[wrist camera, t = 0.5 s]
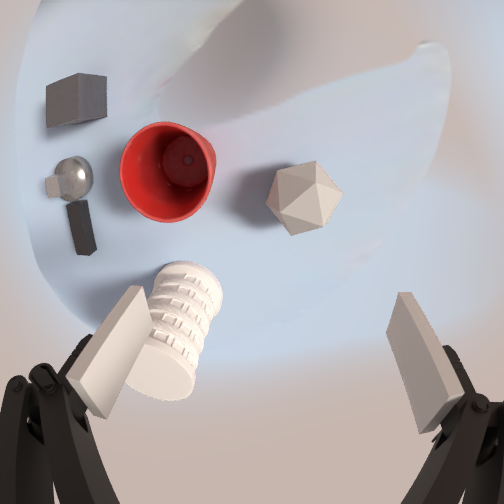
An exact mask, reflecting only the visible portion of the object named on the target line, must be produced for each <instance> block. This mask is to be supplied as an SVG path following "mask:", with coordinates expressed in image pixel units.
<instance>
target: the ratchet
mask: <svg viewBox="0 0 504 504" xmlns="http://www.w3.org/2000/svg"><path fill="white" fill-rule="evenodd" d="M45 183H46V189H47V195H48V198H50V197H59V196H61V197H62V198H63V199H64V200H66V201H69V202H71V203H69V204H67V205H66V207H67V213H68V218H69V222H70V227H71V232H72V236H73V240H74V244H75V248H76V252H77V255H87V256H90V255H91V254H92V253H93V252H95V251H96V250H97V247H96V243H95V238H94V234H93V229H92V224H91V219H90V213H89V208H88V202H87V200H78V199H80V198H82V197H84V196H85V195H87V194H88V193H89V191H90V190H91V188H92V184H93V172H92V169H91V166H90V165H89V163H88V162H87V161H86V160H85V159H84V158H82V157H80V156H74V157H71V158H67V159H64V160H62V161H61V162H60V163H59V164H58V165H57V167H56V169H55V173H54V175H53V176H50V177H47V178H45Z"/></svg>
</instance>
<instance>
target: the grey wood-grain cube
mask: <svg viewBox="0 0 504 504" xmlns="http://www.w3.org/2000/svg"><path fill="white" fill-rule="evenodd" d="M103 117H107V77H105V76H98V75H91V74H83V73H77V74H74V75H72V76H69V77H66V78H64V79H61V80H59V81H57V82H54V83H52V84H50V85H47V86H46V123H47V128H52V127H58V126H65V125H72V124H77V123H81V122H85V121H89V120H94V119H98V118H103Z"/></svg>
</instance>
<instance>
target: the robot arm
mask: <svg viewBox="0 0 504 504" xmlns="http://www.w3.org/2000/svg"><path fill="white" fill-rule="evenodd" d="M153 327H154V325H153V322H152V318H151V315H150V311H149V308H148V304H147V300H146V297H145V293H144V289H143V286H134V285H130V287H129V288H128V289H127V290H126V292H125V293H124V294H123V296H122V297H121V298H120V300H119V301H118V302H117V304H116V305H115V306H114V308H113V309H112V310H111V312H110V313H109V314H108V316H107V317H106V318H105V320H104V321H103V322H102V324H101V325H100V327H99V328H98V329H97V331H96V332H95V334H94V335H91V334H88V335H87V336H86V337H84V338H83V339H82V340H81V341H80V342H79V344H78V345H77V346H76V349H74V351H73V352H72V353H71V354H72V355H70V356H69V358H68V359H67V361H66V362H65V364H64V365H63V367H62V368H61V370H60V371H59V372H58V374H56V372H55V370H54V369H53V367H52V366H51V365H50V364H47V363H41V364H38V365H37V366H35V367H34V368H33V369H32V370H31V371H30V373H29V380H30V381H31V382H32V383H28V381H27V380H26V378H25V377H23V376H21V375H18V376H14V377H13V378H11V379H10V380H9V382H8V384H7V386H6V390H5V394H4V398H3V402H2V407H1V412H0V504H55V503H54V492H53V482H54V486H55V489H56V493H57V496H58V499H59V502H60V504H120V503H119V501H118V499H117V497H116V494H115V492H114V490H113V488H112V485H111V483H110V481H109V478H108V476H107V473H106V471H105V468H104V466H103V463H102V460H101V458H100V455H99V452H98V450H97V446H96V443H95V441H94V437H93V434H92V431H91V427H90V424H89V421H88V417H87V415H86V414H85V412H86V410H87V408H88V409H89V410H90V411H91V413H92V414H93V415H95V416H97V417H100V418H103V419H107V418H108V416H109V414H110V412H111V410H112V407H113V405H114V403H115V401H116V399H117V397H118V395H119V393H120V391H121V389H122V387H123V385H124V383H125V381H126V379H127V377H128V375H129V373H130V371H131V369H132V367H133V365H134V363H135V361H136V359H137V357H138V355H139V353H140V351H141V349H142V347H143V346H144V344H145V342H146V340H147V338H148V336H149V334H150V332H151V330H152V329H153ZM386 334H387V337H388V340H389V342H390V345H391V348H392V351H393V353H394V356H395V359H396V361H397V364H398V367H399V370H400V373H401V376H402V379H403V382H404V385H405V388H406V391H407V394H408V397H409V400H410V403H411V407H412V410H413V414H414V417H415V421H416V424H417V428H418V431H419V434H422V433H427V432H430V431H434V430H435V429H436V428H437V426H438V425H439V424H441V427H442V430H441V431H440V432H439V433H438V434H437V435H436V436H435V437H434V439H433V440H432V442H434V441H435V440H436V441H435V443H434V446H433V448H432V450H431V452H430V454H429V456H428V458H427V460H426V462H425V463H424V465H423V467H422V469H421V471H420V473H419V474H418V476H417V478H416V480H415V481H414V483H413V485H412V486H411V488H410V490H409V491H408V493H407V494H406V496H405V498H404V499H403V501H402V502H401V504H458V503H459V501H460V499H461V497H462V495H463V492H464V490H465V493H464V497H463V502H462V504H504V401H503V402H490V401H489V400H488V398H487V397H486V396H484V395H482V394H479V393H476V392H475V389H474V387H473V385H472V383H471V381H470V379H469V377H468V375H467V373H466V371H465V369H464V368H463V365H462V363H461V362H460V359H459V357H458V355H457V354H456V352H455V351H454V350H453V349H452V348H451V347H450V346H449V345H446V346H442V345H441V343H440V341H439V339H438V338H437V336H436V334H435V332H434V330H433V328H432V327H431V325H430V323H429V322H428V320H427V318H426V316H425V314H424V313H423V311H422V309H421V308H420V306H419V304H418V303H417V301H416V299H415V298H414V296H413V294H412V293H411V292H399V293H398V296H397V300H396V303H395V307H394V310H393V313H392V316H391V319H390V323H389V326H388V328H387V331H386ZM27 418H29V420H28V423H27ZM465 488H466V489H465Z"/></svg>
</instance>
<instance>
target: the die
mask: <svg viewBox="0 0 504 504" xmlns="http://www.w3.org/2000/svg"><path fill="white" fill-rule="evenodd" d="M342 195H343V192H342V191H341V190H340V189H339V187H338V186H337V185H336V184H335V183H334V181H333V180H332V179H331V178H330V177H329V175H328V174H327V173H326V172H325V171H324V170H323V168H322V167H321V166H320V165H319V164H318V163H317V161H312V162H308V163H304V164H300V165H296V166H292V167H288V168H284V169H281V170H277V172H276V175H275V178H274V181H273V184H272V187H271V190H270V192H269V195H268V198H267V201H266V205H267V206H268V207H269V208H270V210H271V211H272V212H273V213H274V215H275V216H276V217H277V218H278V220H279V221H280V222H281V223H282V225H283V226H284V227H285V228H286V230H287V231H288V232H289V233H290V235H291V236H292V235H296V234H299V233H303V232H306V231H310V230H314V229H317V228H321V227H324V226H325V225H326V224H327V222H328V221H329V219H330V217H331V215H332V213H333V211H334V210H335V208H336V206H337V204H338V202H339V200H340V199H341V197H342Z"/></svg>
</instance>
